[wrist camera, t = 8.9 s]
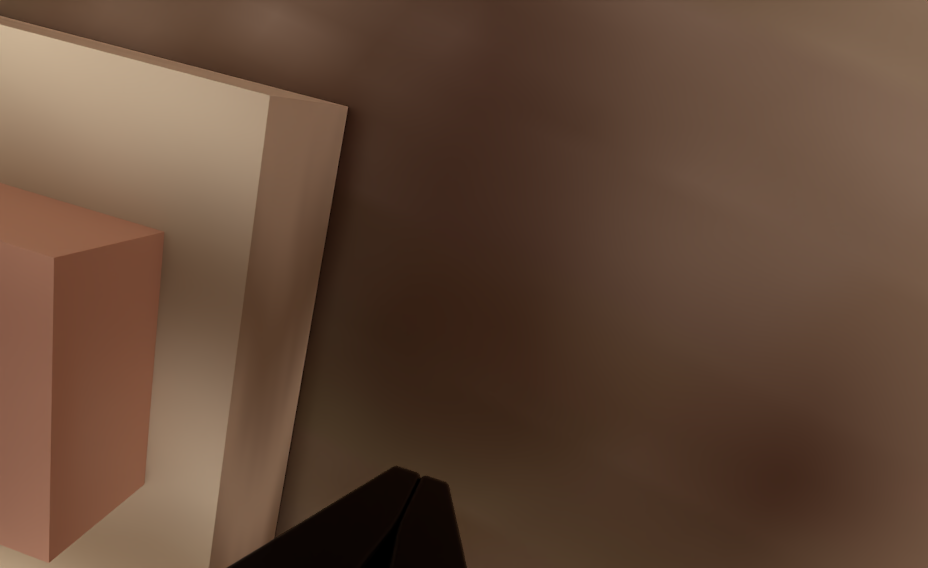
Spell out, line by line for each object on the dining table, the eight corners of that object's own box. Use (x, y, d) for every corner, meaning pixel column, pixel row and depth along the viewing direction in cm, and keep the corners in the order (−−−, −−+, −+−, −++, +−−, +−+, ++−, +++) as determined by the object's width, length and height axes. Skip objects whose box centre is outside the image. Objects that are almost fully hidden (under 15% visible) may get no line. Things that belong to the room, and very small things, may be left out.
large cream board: (233, 774, 17) (165, 906, 14) (-99, 639, 18) (-226, 734, 15) (348, 106, 11) (270, 95, 8) (-159, -26, 12) (-384, -77, 9)
